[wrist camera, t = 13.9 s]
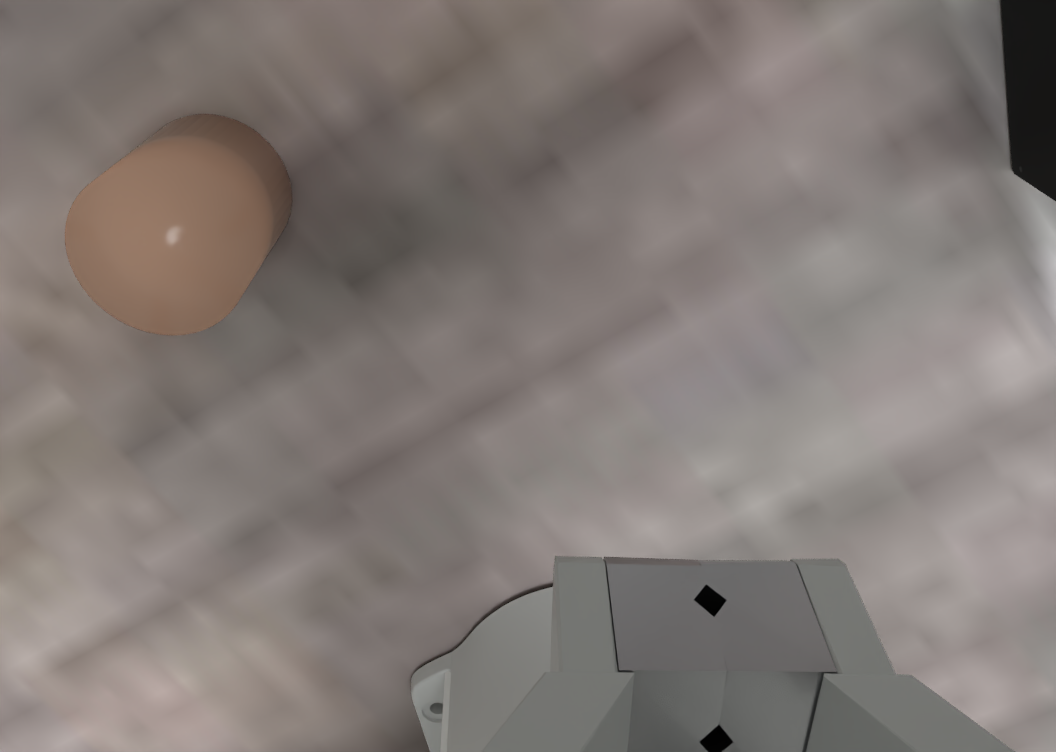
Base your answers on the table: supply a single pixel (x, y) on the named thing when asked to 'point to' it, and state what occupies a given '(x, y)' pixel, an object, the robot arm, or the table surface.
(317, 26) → the table surface
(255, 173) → the peach rounded cylinder
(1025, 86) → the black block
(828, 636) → the robot arm
